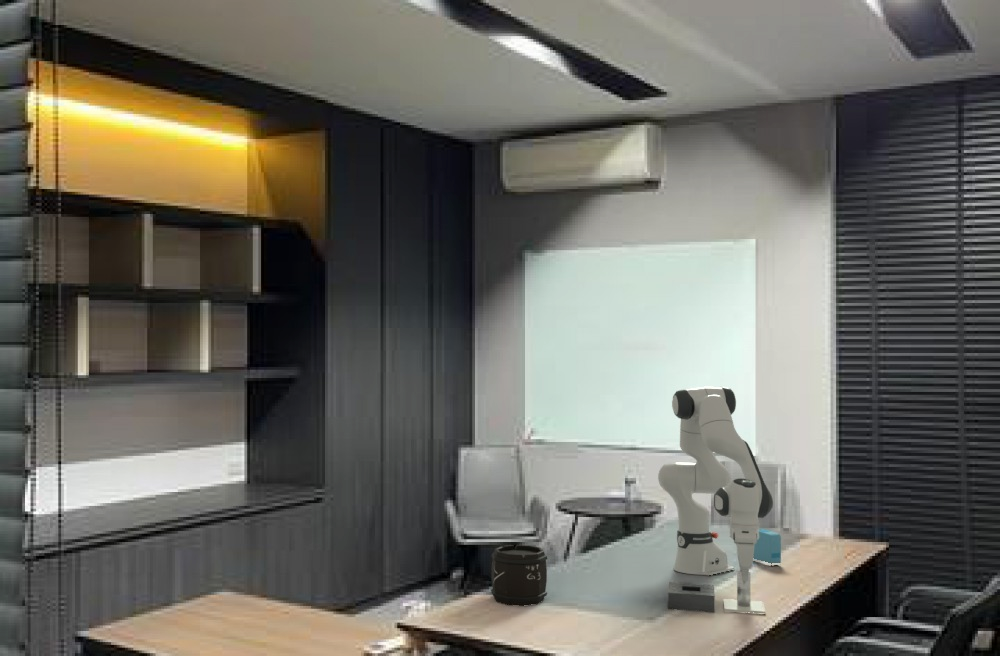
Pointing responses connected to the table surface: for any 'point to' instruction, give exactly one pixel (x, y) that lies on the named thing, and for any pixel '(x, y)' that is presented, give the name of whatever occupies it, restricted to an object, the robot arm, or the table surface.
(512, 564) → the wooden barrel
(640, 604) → the table surface
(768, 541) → the data package
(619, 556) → the table surface
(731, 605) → the pad
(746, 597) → the key peg
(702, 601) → the block
